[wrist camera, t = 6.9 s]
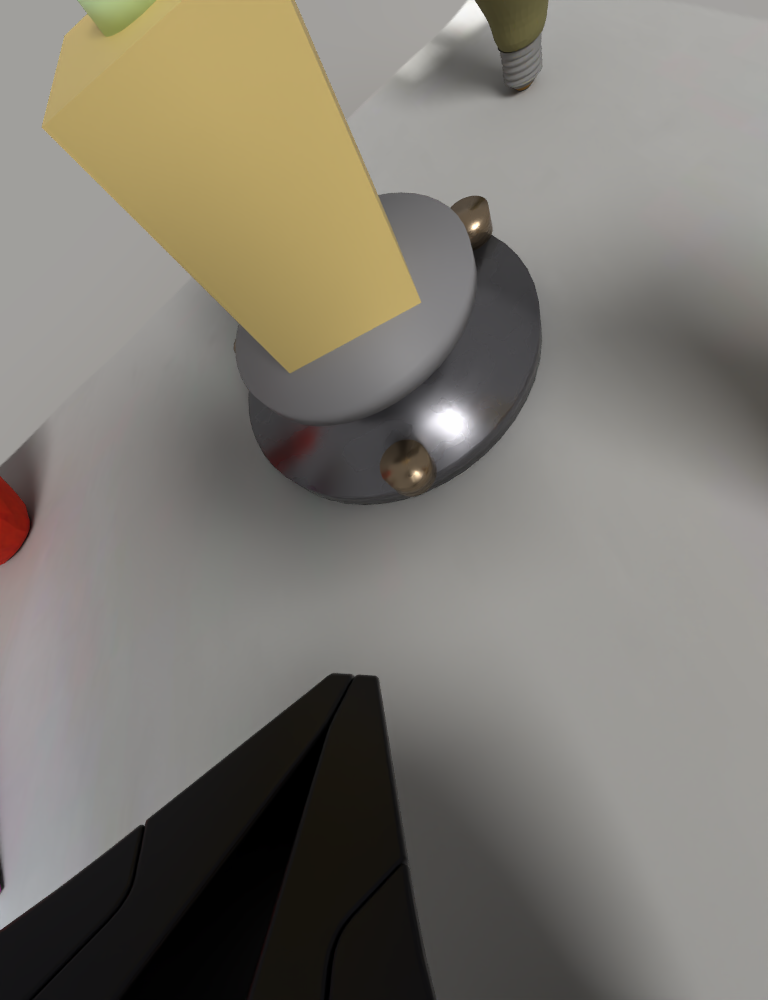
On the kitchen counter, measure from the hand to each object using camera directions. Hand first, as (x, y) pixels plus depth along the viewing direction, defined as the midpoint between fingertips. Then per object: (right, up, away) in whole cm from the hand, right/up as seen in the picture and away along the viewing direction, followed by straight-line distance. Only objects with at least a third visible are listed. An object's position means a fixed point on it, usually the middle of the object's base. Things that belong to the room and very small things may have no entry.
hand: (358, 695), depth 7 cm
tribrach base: (0, +12, +18) cm, 22 cm away
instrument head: (-1, +13, +15) cm, 20 cm away
